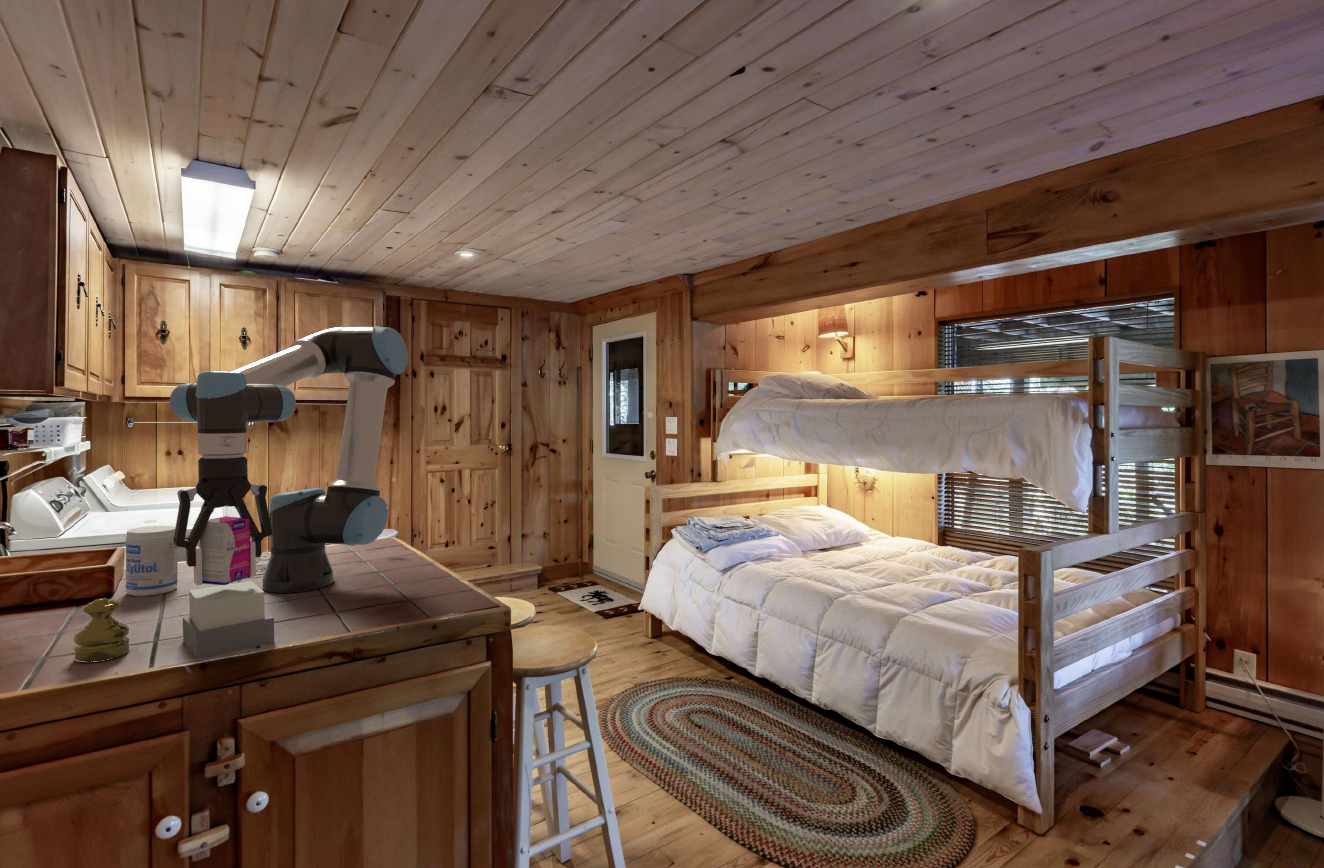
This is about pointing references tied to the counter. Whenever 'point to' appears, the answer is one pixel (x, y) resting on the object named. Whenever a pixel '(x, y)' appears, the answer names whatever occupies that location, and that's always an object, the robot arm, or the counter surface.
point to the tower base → (227, 636)
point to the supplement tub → (151, 560)
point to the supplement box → (225, 550)
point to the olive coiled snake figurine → (101, 633)
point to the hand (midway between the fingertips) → (225, 578)
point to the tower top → (226, 605)
